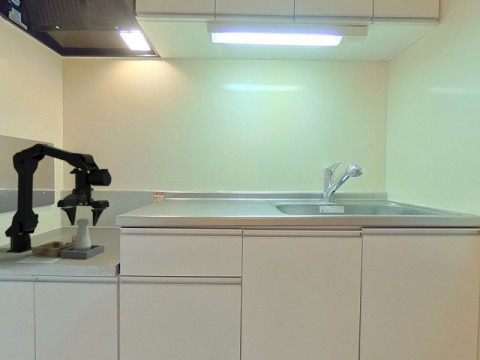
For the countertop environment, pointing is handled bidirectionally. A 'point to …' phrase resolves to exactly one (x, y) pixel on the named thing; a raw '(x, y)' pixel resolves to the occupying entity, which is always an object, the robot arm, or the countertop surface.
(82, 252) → the tray
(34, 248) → the socket block
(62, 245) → the key
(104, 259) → the countertop surface
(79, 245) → the salt shaker
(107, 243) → the countertop surface
